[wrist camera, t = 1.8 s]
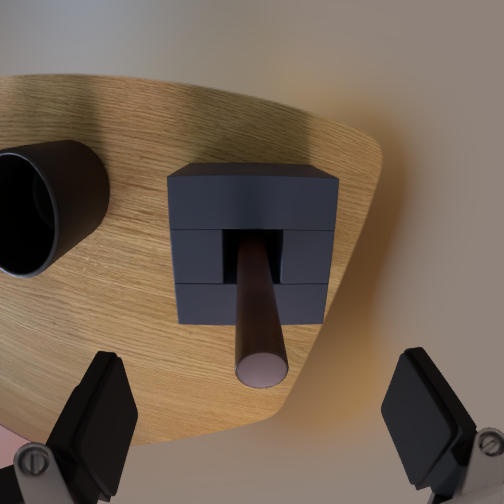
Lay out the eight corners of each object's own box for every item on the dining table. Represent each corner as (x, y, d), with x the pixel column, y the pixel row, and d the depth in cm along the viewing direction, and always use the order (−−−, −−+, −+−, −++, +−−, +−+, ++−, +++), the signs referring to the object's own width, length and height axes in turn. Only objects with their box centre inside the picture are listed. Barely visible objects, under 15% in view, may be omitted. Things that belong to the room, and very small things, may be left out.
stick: (238, 211, 26) (234, 350, 10) (260, 211, 26) (291, 350, 10) (238, 231, 27) (235, 389, 10) (259, 232, 27) (286, 388, 10)
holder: (189, 163, 25) (166, 176, 17) (311, 164, 25) (339, 178, 18) (193, 275, 28) (178, 324, 21) (303, 275, 29) (322, 324, 21)
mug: (14, 141, 23) (-49, 153, 14) (114, 139, 24) (59, 146, 15) (16, 231, 26) (-38, 264, 18) (111, 243, 27) (65, 288, 19)
